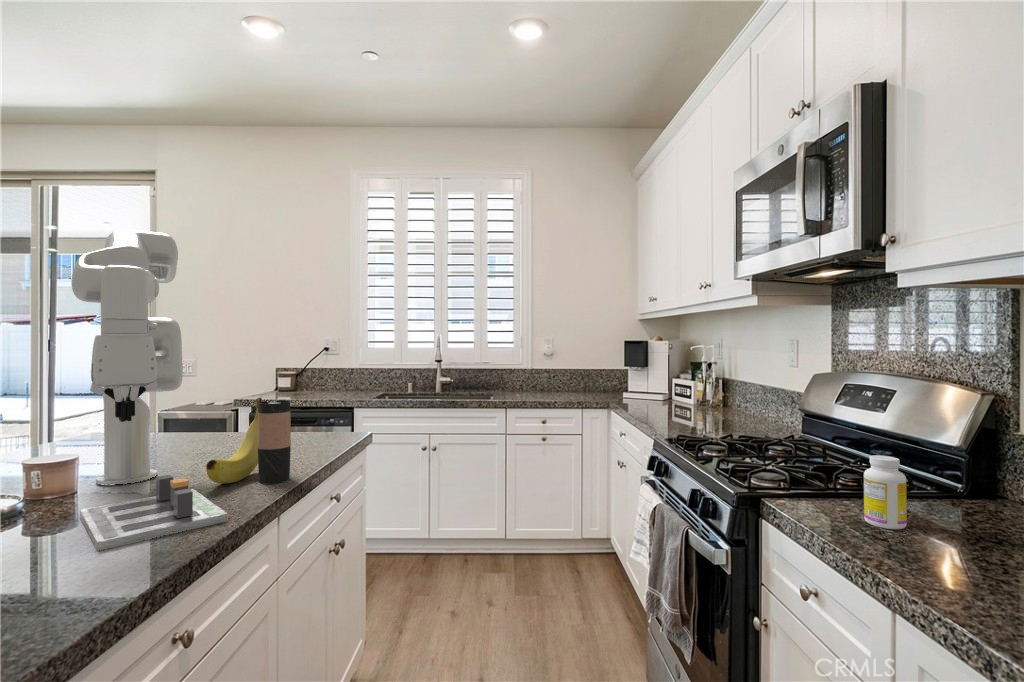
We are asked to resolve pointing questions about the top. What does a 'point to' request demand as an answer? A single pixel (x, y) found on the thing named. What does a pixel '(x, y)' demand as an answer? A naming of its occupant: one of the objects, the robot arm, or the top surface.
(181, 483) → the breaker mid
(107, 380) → the robot arm
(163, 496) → the block
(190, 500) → the breaker near
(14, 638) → the top surface
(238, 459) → the banana
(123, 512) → the panel
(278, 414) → the travel mug
